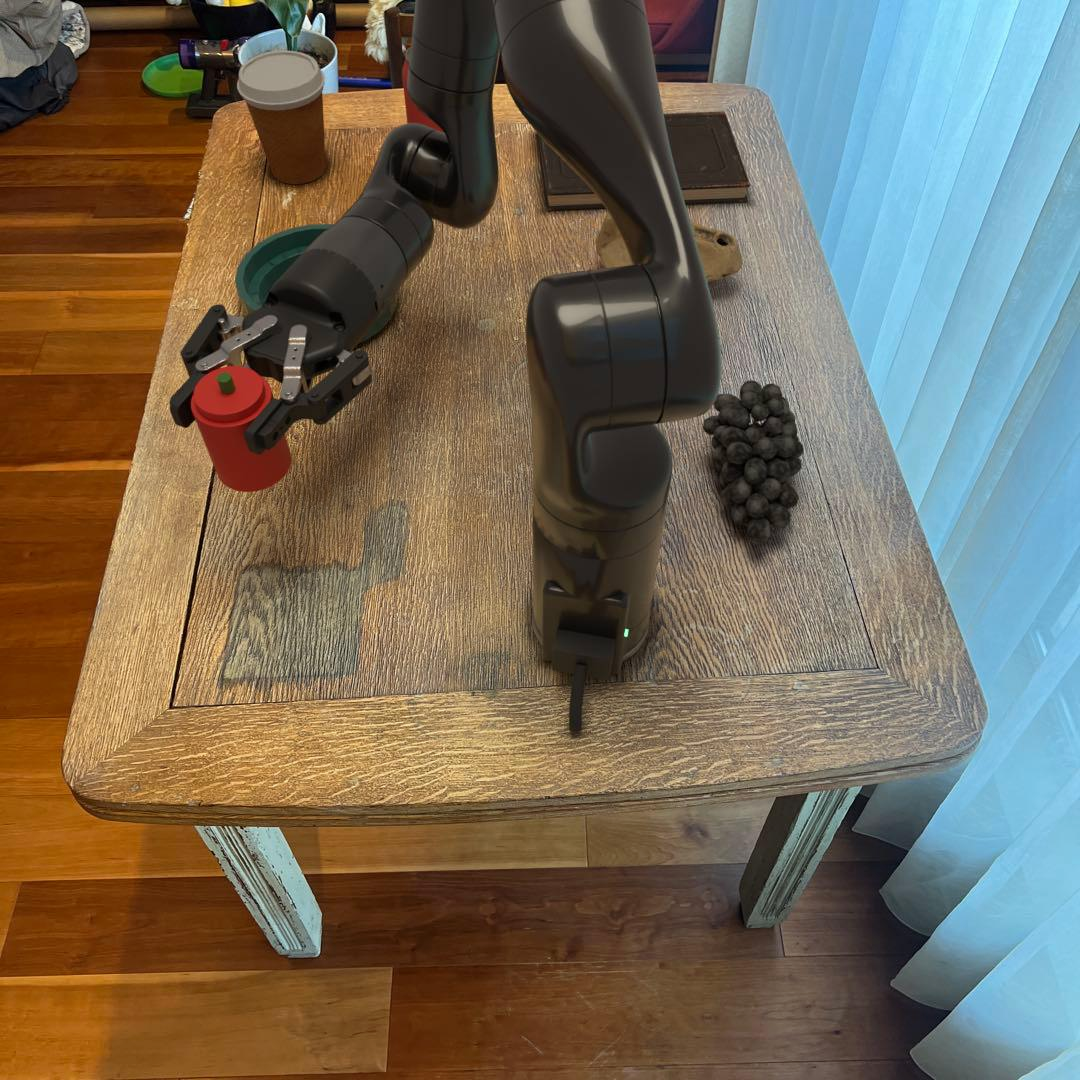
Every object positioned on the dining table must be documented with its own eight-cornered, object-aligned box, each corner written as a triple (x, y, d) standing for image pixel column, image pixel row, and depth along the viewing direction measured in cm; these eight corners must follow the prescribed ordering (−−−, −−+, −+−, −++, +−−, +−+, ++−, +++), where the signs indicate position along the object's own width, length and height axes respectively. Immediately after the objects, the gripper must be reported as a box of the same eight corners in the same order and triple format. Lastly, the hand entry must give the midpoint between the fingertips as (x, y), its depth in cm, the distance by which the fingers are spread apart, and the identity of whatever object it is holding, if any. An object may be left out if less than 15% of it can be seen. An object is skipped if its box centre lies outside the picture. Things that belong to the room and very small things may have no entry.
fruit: (801, 494, 78) (792, 357, 87) (694, 508, 81) (696, 373, 89) (814, 559, 85) (805, 425, 93) (715, 569, 87) (714, 438, 96)
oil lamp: (742, 311, 105) (756, 247, 99) (597, 313, 105) (601, 248, 98) (728, 246, 112) (740, 181, 105) (591, 247, 111) (595, 182, 105)
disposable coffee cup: (327, 196, 117) (308, 96, 108) (247, 188, 118) (221, 89, 108) (349, 150, 123) (333, 51, 113) (273, 143, 124) (251, 45, 114)
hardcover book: (747, 202, 117) (750, 184, 115) (546, 211, 115) (546, 193, 114) (721, 126, 126) (724, 108, 124) (536, 133, 125) (536, 116, 123)
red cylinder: (273, 498, 75) (244, 412, 68) (203, 484, 76) (167, 398, 69) (303, 443, 78) (278, 356, 71) (235, 431, 79) (204, 343, 72)
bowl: (371, 368, 100) (365, 333, 96) (221, 345, 102) (210, 310, 98) (416, 270, 109) (412, 234, 105) (278, 250, 111) (269, 215, 107)
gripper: (251, 224, 79) (111, 363, 70) (415, 272, 75) (290, 425, 66) (272, 301, 85) (146, 438, 76) (425, 349, 81) (312, 499, 72)
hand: (214, 431), depth 71 cm, fingers closed on red cylinder, 5 cm apart
